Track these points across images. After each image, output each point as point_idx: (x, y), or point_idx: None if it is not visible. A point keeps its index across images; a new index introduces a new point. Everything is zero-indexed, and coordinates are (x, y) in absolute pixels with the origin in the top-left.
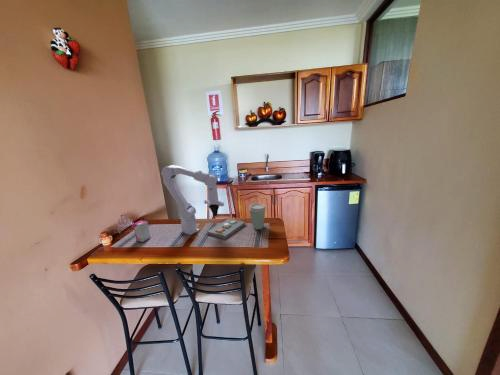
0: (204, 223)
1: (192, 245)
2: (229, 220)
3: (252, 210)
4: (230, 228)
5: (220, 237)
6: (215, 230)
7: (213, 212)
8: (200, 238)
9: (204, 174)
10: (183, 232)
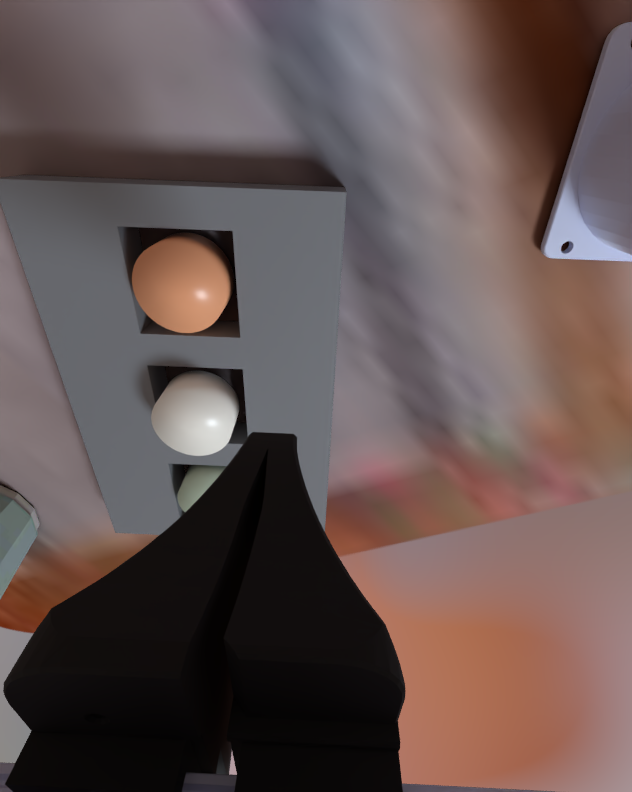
0: (572, 411)
1: None
2: None
3: None
4: (123, 385)
5: (102, 179)
6: (252, 269)
7: (252, 483)
8: (366, 9)
9: None
10: None
